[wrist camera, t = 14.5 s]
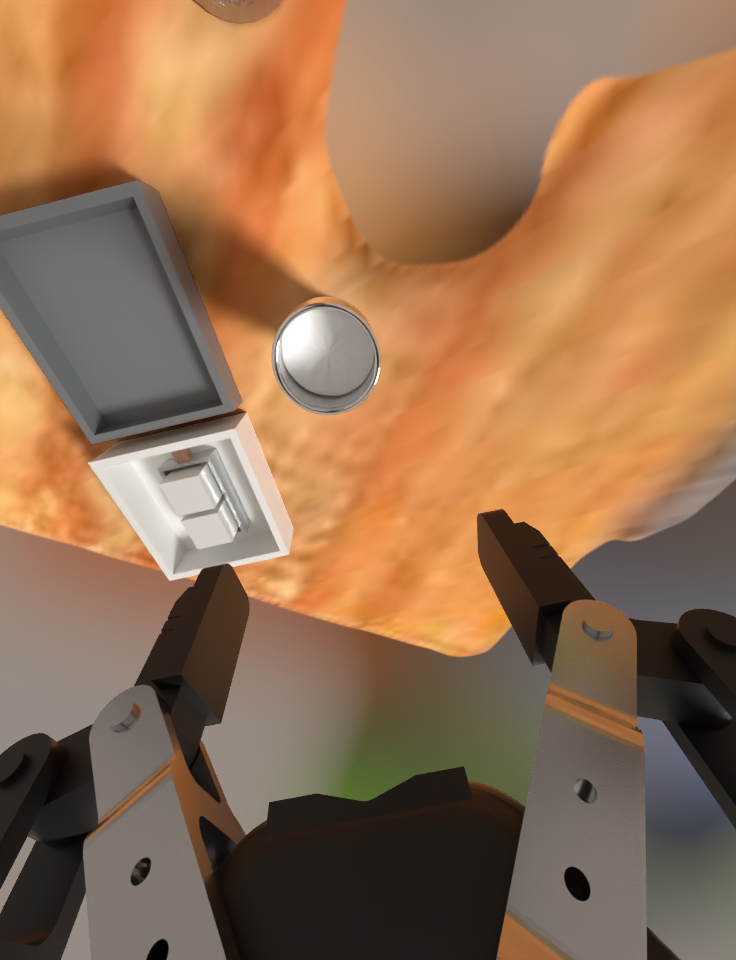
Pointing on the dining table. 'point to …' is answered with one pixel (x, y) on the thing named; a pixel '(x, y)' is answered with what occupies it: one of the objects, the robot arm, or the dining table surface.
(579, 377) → the dining table surface
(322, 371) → the silver metal goblet
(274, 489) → the bin
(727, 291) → the dining table surface
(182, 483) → the light grey cube block
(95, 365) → the tray
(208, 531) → the off-white cube
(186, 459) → the scoop
